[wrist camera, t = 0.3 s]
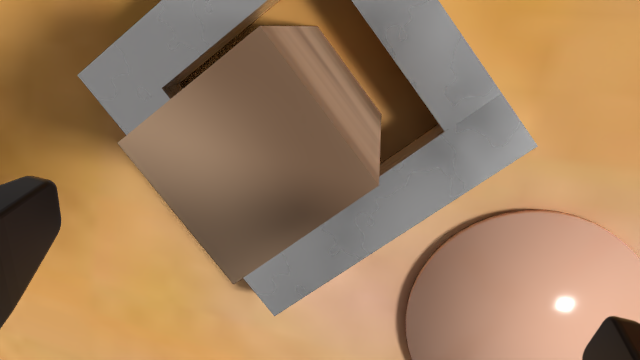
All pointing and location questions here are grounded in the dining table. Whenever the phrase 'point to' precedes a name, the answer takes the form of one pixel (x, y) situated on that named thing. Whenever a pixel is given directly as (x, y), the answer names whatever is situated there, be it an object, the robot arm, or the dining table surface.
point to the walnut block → (262, 146)
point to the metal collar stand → (395, 173)
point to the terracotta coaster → (521, 289)
